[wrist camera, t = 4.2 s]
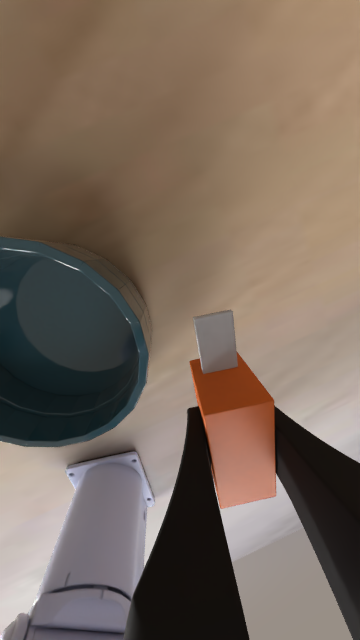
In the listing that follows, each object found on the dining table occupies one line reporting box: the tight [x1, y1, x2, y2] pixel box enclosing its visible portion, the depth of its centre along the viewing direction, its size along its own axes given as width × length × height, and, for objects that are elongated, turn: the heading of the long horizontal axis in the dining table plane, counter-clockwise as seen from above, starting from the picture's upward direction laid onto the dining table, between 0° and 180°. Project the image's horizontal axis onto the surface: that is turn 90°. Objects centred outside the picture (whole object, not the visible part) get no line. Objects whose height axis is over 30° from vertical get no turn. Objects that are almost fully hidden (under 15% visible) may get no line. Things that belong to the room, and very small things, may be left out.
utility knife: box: [190, 310, 276, 509], centre depth 10 cm, size 9×3×4 cm, turn 10°
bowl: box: [0, 236, 152, 447], centre depth 14 cm, size 14×14×5 cm
